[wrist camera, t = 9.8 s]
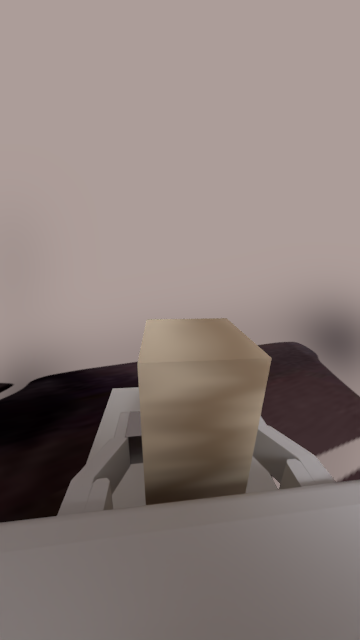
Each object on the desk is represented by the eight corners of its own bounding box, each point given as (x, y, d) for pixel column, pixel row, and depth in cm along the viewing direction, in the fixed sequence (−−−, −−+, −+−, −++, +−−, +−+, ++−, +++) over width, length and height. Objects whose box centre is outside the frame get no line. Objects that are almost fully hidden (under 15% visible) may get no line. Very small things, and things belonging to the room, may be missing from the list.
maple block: (149, 567, 10) (137, 363, 6) (152, 472, 14) (146, 319, 10) (233, 554, 10) (271, 358, 6) (211, 466, 14) (226, 318, 11)
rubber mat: (-60, 903, 5) (-70, 902, 5) (113, 393, 26) (112, 388, 26) (405, 757, 7) (413, 752, 7) (222, 387, 28) (223, 383, 28)
